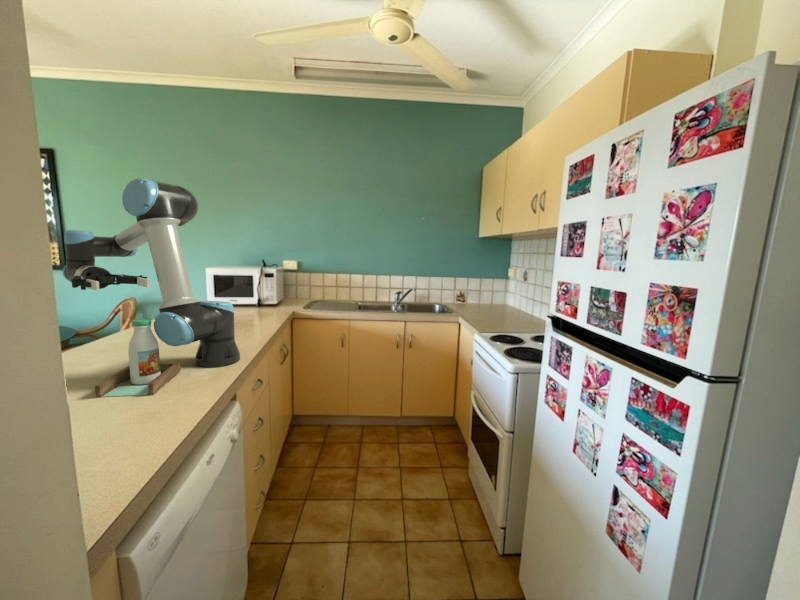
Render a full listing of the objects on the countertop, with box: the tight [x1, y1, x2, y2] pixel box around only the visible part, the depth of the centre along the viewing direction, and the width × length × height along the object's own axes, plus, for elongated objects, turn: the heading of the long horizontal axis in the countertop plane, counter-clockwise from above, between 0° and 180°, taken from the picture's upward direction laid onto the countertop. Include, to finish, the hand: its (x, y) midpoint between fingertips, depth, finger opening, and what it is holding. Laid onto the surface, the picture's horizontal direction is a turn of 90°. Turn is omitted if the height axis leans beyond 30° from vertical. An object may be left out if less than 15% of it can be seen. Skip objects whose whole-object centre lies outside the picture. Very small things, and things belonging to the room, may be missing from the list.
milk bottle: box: [127, 318, 161, 386], centre depth 106 cm, size 8×8×20 cm
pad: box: [102, 384, 149, 398], centre depth 100 cm, size 11×7×1 cm, turn 102°
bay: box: [94, 361, 181, 398], centre depth 105 cm, size 14×18×4 cm
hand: (124, 284), depth 108 cm, fingers open, 13 cm apart
